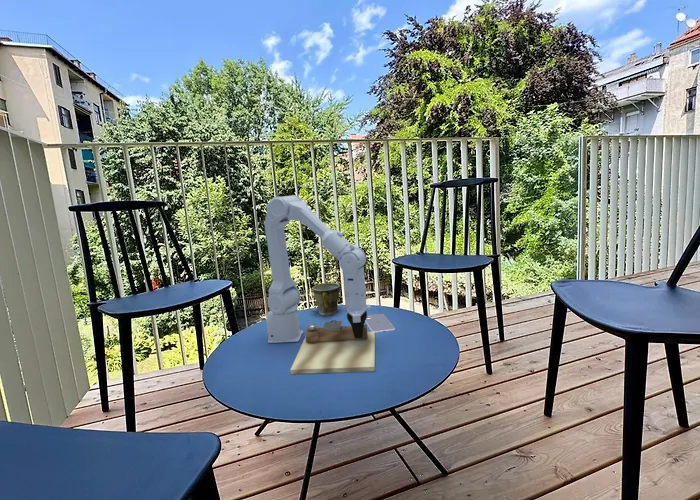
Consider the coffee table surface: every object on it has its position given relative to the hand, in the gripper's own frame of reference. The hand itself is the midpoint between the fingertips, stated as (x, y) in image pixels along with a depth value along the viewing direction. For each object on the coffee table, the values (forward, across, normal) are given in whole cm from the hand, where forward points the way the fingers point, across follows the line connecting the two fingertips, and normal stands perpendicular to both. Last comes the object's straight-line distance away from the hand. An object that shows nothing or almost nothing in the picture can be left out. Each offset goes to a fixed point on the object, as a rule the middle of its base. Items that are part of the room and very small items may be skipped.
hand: (358, 337), depth 106 cm
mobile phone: (+3, +16, -6) cm, 18 cm away
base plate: (+2, -4, +6) cm, 8 cm away
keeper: (+1, +3, +10) cm, 10 cm away
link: (+1, +2, +7) cm, 7 cm away
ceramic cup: (+3, +28, +11) cm, 31 cm away
